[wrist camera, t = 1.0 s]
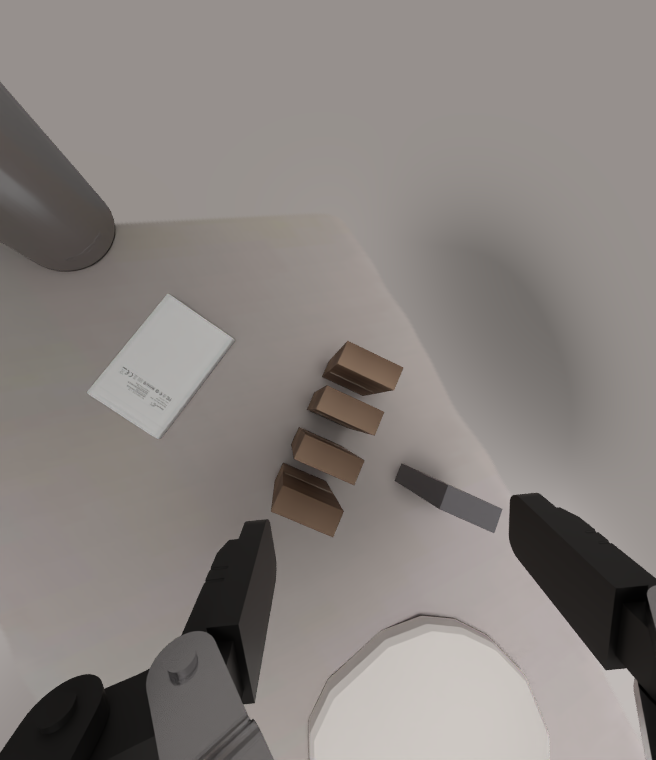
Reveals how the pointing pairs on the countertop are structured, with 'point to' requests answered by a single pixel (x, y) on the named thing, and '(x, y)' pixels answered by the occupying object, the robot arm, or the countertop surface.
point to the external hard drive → (161, 367)
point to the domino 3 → (326, 456)
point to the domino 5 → (450, 498)
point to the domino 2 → (345, 410)
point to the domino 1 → (362, 370)
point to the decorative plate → (428, 700)
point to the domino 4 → (306, 500)
